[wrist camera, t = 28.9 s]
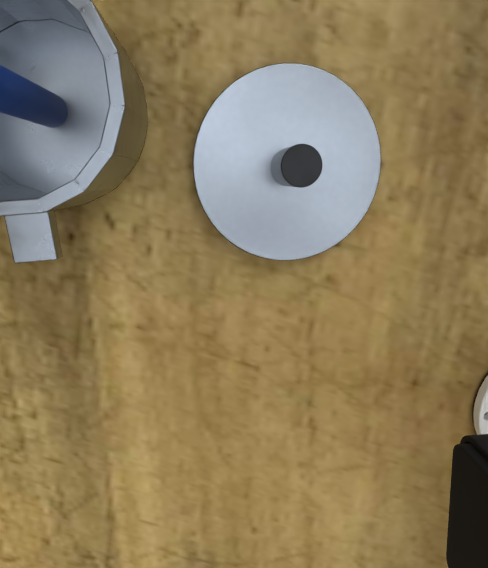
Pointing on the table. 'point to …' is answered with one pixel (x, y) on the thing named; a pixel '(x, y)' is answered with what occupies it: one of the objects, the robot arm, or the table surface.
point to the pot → (78, 125)
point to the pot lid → (286, 161)
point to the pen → (30, 100)
